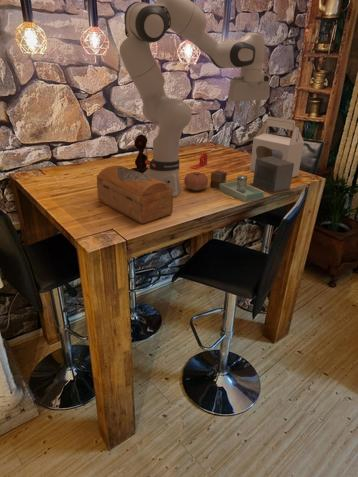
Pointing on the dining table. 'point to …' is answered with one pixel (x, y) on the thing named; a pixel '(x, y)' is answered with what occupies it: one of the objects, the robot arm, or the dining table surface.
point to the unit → (273, 175)
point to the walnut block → (217, 179)
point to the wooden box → (134, 194)
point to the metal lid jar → (241, 183)
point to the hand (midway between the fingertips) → (247, 111)
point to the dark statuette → (141, 154)
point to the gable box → (278, 143)
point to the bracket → (201, 161)
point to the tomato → (196, 181)
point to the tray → (231, 189)
